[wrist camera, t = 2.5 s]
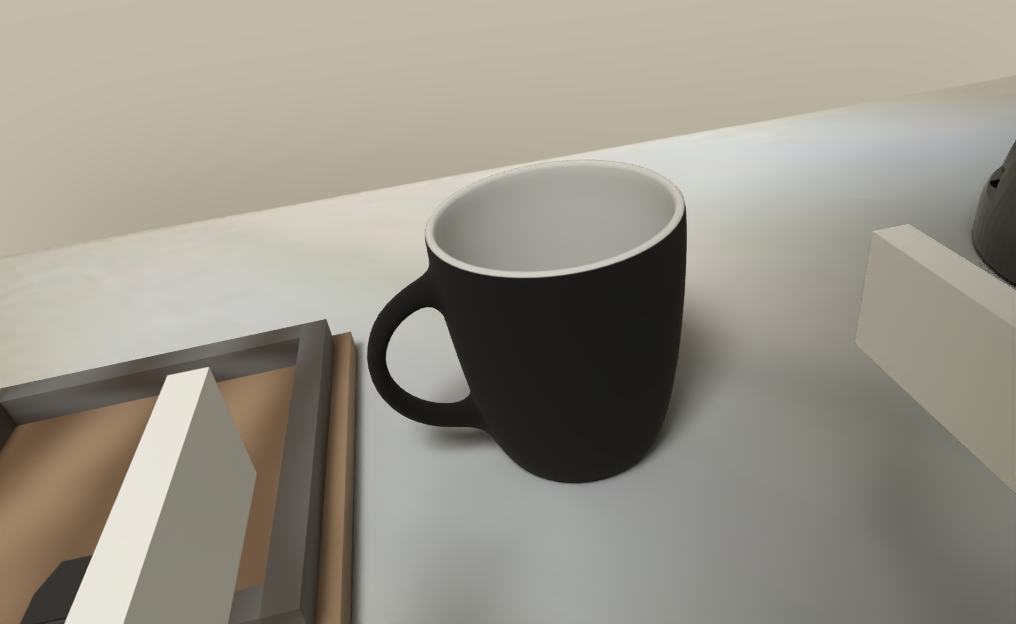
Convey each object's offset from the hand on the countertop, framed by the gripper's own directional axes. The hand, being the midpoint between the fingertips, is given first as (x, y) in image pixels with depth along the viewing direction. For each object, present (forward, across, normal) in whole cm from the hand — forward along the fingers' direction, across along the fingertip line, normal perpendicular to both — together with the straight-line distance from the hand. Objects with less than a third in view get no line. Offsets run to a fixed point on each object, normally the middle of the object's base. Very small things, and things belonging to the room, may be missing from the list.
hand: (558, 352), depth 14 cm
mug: (+11, +1, -12) cm, 16 cm away
